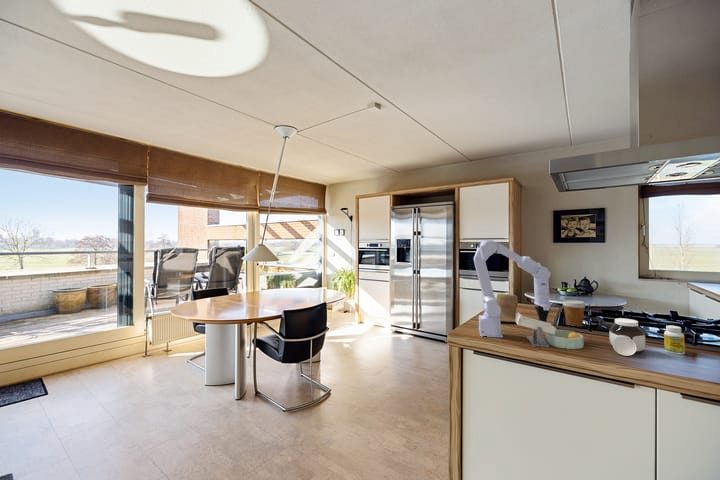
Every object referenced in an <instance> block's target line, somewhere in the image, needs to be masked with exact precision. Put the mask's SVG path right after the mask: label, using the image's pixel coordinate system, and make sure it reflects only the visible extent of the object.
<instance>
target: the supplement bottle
mask: <svg viewBox="0 0 720 480" xmlns="http://www.w3.org/2000/svg"><path fill="white" fill-rule="evenodd" d="M665 329H666V330H665V331H664V333H663V338H664V339H663V342H664V351H665V352H666V353H669V354H671V355H679V356H682V355H685V354H686V344H685V342H686V341H685V334H684V333H683V332H682V327H680V326H677V325H671V324H670V325H666V326H665Z"/></svg>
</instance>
